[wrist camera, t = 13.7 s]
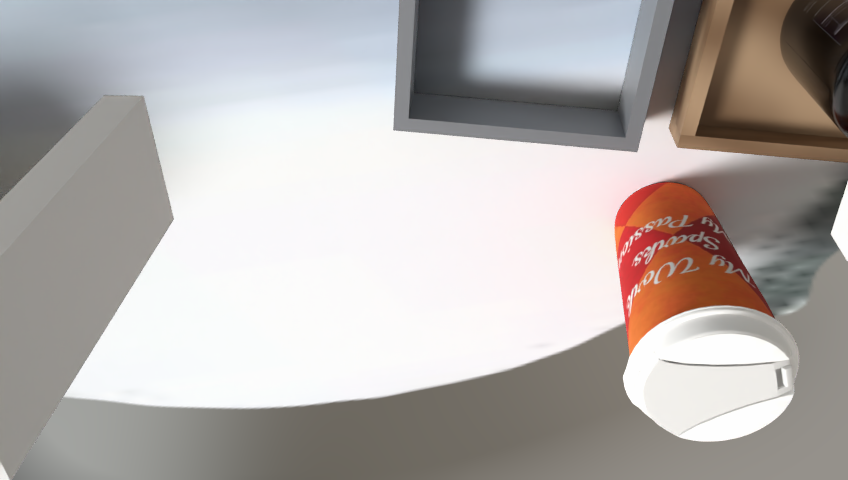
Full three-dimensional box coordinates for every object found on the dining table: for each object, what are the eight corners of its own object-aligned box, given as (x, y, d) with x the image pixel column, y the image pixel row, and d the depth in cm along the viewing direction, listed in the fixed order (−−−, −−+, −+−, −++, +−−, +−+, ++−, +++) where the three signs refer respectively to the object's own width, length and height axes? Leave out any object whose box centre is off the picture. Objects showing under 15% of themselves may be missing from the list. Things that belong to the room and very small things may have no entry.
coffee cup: (720, 150, 47) (801, 308, 35) (736, 258, 51) (814, 433, 39) (581, 185, 49) (611, 346, 37) (608, 286, 53) (643, 461, 41)
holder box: (411, -148, 39) (405, -136, 36) (685, -126, 39) (701, -112, 36) (399, 103, 47) (393, 130, 44) (628, 124, 46) (637, 152, 44)
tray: (740, -144, 38) (754, -136, 36) (1044, -120, 38) (1076, -109, 36) (668, 127, 46) (677, 147, 44) (918, 150, 46) (938, 170, 44)
